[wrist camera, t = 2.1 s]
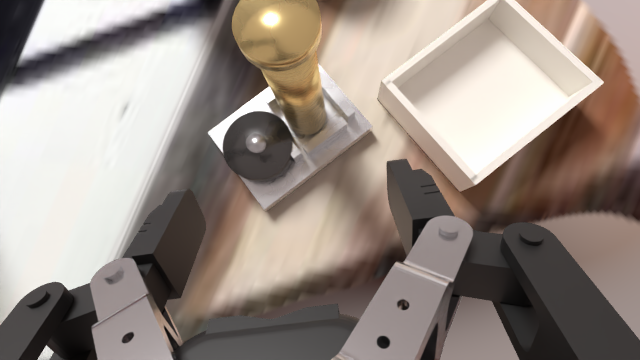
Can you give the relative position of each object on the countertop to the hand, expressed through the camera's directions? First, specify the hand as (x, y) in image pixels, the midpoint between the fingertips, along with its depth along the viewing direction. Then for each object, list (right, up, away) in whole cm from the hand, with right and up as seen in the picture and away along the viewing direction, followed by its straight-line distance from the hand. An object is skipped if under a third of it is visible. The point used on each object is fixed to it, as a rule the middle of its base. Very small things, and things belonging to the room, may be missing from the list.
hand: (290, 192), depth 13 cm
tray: (+15, +8, +16) cm, 24 cm away
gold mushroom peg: (0, +6, +16) cm, 17 cm away
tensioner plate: (-2, +5, +17) cm, 18 cm away
